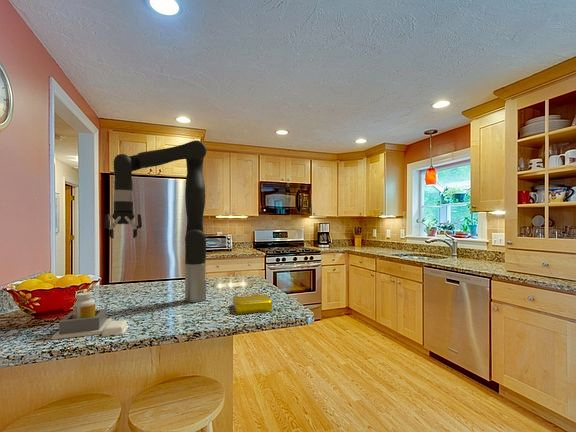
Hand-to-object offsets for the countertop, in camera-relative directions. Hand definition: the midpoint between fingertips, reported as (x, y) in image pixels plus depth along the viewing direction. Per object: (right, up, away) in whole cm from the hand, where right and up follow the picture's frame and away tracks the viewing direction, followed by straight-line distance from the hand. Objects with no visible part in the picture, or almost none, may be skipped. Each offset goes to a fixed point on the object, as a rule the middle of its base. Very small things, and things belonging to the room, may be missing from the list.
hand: (123, 238), depth 130 cm
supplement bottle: (+1, -29, -27) cm, 39 cm away
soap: (+13, -30, -29) cm, 43 cm away
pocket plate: (+1, -30, -27) cm, 40 cm away
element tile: (+56, -30, -2) cm, 64 cm away
